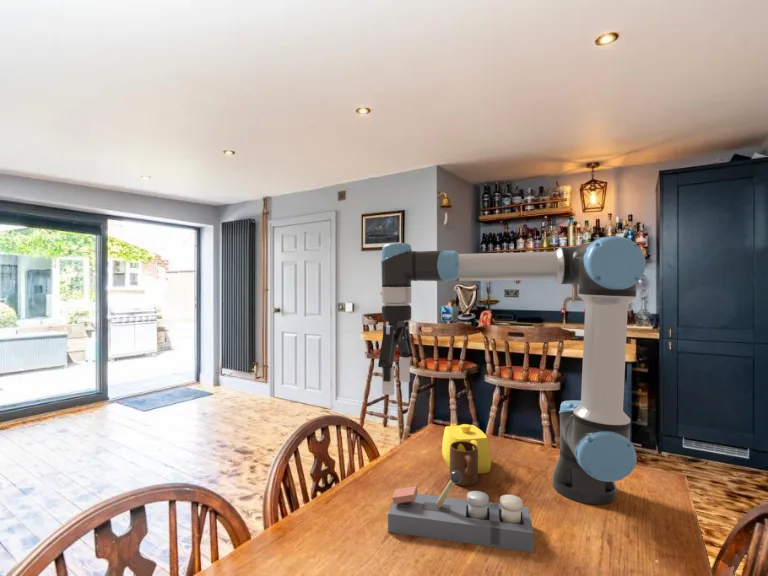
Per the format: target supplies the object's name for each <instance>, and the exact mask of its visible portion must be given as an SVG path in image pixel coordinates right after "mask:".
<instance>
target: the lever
mask: <svg viewBox="0 0 768 576" xmlns="http://www.w3.org/2000/svg"><path fill="white" fill-rule="evenodd" d="M449 479H450V480H449V481H448V483H446V484H447V485H446V486H445V488H443V489H444V490H443V491H442V493H440V495H439V496H440V497H439V499H438V500H437V502H436V506H437V507H439V508H440V507H441V505H442V504H443V502H444V501H445V499H446V498H447V497H448V496H449V494H450V493H451V491H452V490H453V488H454V487H455V485H456V484H455V483H459V482H460V481H461V480H462V475H461V473H460V472H459V471H457V470H454V471H452V472H451V474H450V473H449Z"/></svg>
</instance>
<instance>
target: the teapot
mask: <svg viewBox="0 0 768 576" xmlns="http://www.w3.org/2000/svg"><path fill="white" fill-rule="evenodd" d="M443 432H444V433H443V437H442V446H441V447H442V448H441V453H442V457H443V461H444V463H445V465H446V466H447V468H449V470H450V445H451V444H452V443H454V442H459V441H465V442H470V443H473V444H475V445H476V446H477V448H478V475H480V474H488V473H490V471H491V467H492V459H491V458H492V457H491V449H490V445H489V443H490V442H489V439H488V436H487V435H486V434H485V433H484V432H483V430H481V429H480V428H479V427H477V426H475V425H474V424H468V423H467V424H466V423H463V424H460V425H457V423H450V425H447V426H445V428H444V431H443ZM457 450H460V451H466V450H465V448H464V446H463V445H462V444H459V445H458V448H457ZM473 450H475V449H474V447H473Z"/></svg>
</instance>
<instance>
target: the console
mask: <svg viewBox="0 0 768 576" xmlns="http://www.w3.org/2000/svg"><path fill="white" fill-rule="evenodd" d="M440 496H441V495H431V494H424V493H417V496H416V500H415V501H411V502H404V503H397V504H394V503H393V502H391V506H390V508H389V511H388V512H387V533H393V534H398V535H406V536H414V537H420V538H427V539H434V540H441V541H449V542H453V543H461V544H463V543H464V544H468V545H476V546H477V545H478V546H483V547H488V548H489V547H491V548H498V549H505V550H509V551H518V552H525V553H532V554H534V547H535V546H534V545H535V544H534V540H535V538H534V537H535V536H534V535H535V533H534V527H533V523H532V519H531V515H530V509H529V507H528V506H522V510H521V524H513V523H505V522H502V520H501V513H502V507H501V506H500V502H492V501H491V502H490V501H489V504H488V505H487V520H482V519H474V518H469V517H468V502H467V498H466V499H465V498H457V497H450V496H449V497H448V496H447V498H446V499H445V501H444V502H443V504H442V505H441V507H440V508H439V507H437V506H436V502H437V500H438V499H439V497H440Z"/></svg>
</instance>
